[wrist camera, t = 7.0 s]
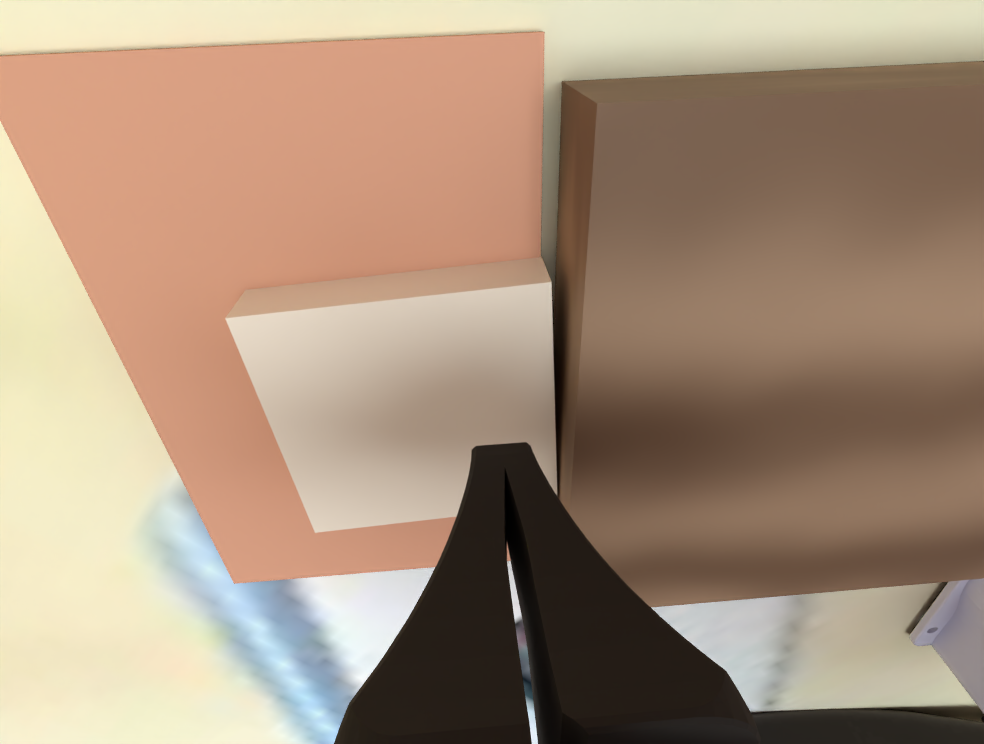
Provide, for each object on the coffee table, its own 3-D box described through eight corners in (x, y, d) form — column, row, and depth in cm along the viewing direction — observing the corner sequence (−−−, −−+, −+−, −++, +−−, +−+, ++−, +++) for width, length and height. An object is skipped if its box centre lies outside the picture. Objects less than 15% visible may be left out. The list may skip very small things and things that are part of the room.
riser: (979, 498, 22) (1059, 571, 19) (546, 533, 21) (562, 615, 19) (1289, 46, 13) (1526, 57, 10) (562, 81, 12) (597, 103, 10)
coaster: (549, 470, 19) (557, 504, 18) (324, 496, 19) (315, 532, 18) (541, 256, 14) (551, 282, 13) (245, 289, 14) (225, 318, 13)
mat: (534, 550, 22) (535, 558, 22) (237, 574, 22) (234, 583, 21) (541, 31, 12) (544, 32, 12) (-18, 56, 11) (-32, 57, 11)
